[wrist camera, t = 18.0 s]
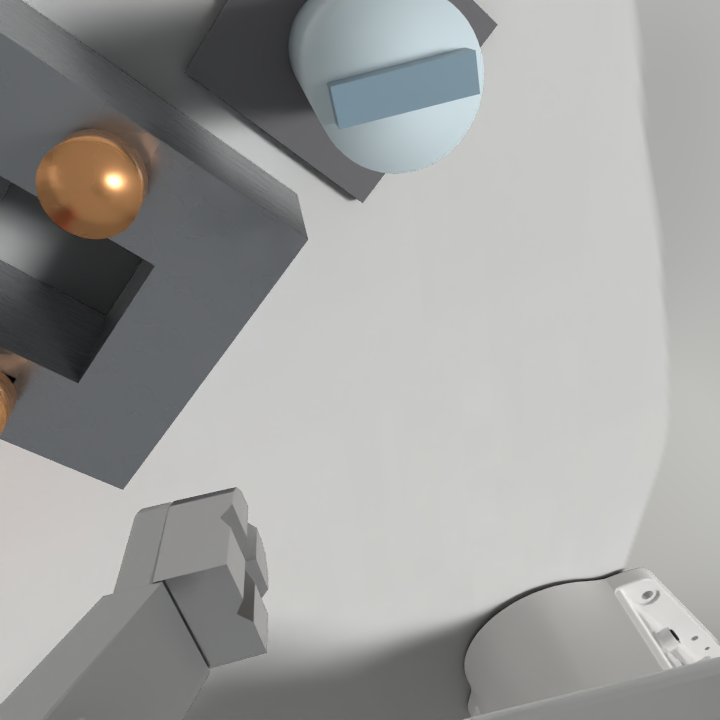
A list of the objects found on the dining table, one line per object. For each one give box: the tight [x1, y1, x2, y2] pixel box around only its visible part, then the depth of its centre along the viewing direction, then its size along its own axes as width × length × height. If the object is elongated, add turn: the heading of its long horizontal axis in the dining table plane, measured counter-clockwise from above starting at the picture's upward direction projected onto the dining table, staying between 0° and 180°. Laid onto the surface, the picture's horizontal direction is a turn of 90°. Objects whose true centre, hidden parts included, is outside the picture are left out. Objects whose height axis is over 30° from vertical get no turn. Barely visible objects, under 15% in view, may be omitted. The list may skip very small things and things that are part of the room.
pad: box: [185, 0, 497, 203], centre depth 26 cm, size 9×9×1 cm
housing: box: [0, 0, 308, 489], centre depth 26 cm, size 14×14×6 cm
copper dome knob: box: [36, 129, 148, 239], centre depth 21 cm, size 3×3×4 cm
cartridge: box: [288, 0, 484, 174], centre depth 21 cm, size 4×4×12 cm
